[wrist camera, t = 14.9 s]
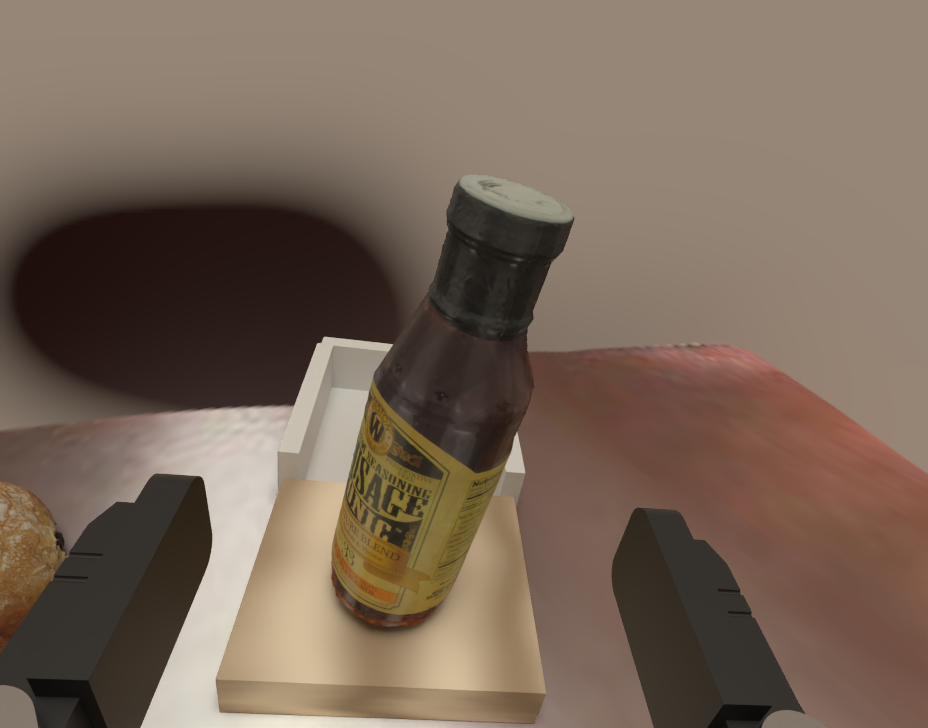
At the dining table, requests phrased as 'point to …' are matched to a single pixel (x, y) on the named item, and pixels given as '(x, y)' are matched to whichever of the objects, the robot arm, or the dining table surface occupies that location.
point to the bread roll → (24, 555)
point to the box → (347, 417)
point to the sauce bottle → (446, 406)
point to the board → (381, 629)
